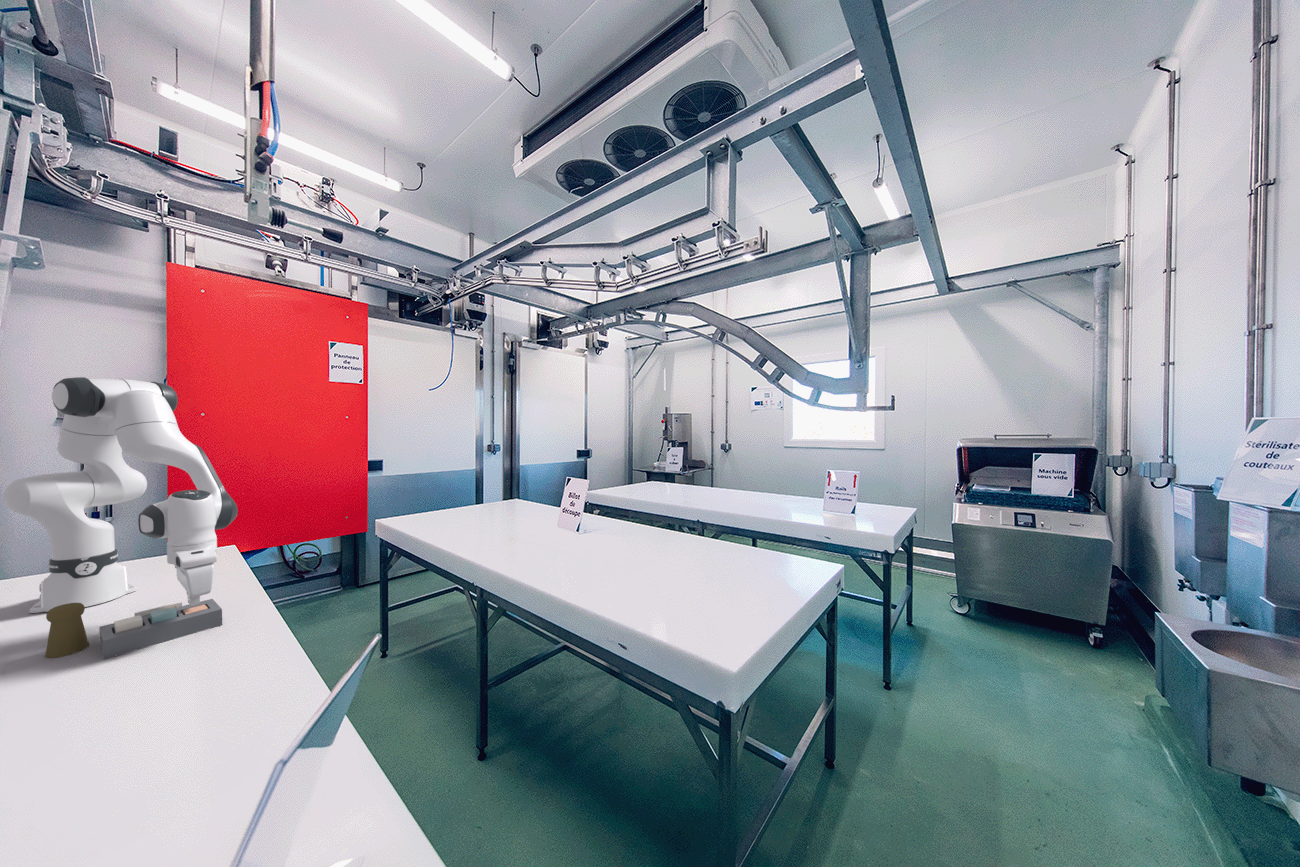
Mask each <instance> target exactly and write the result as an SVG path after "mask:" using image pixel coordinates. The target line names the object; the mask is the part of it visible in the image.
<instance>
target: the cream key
mask: <svg viewBox="0 0 1300 867" xmlns="http://www.w3.org/2000/svg"><path fill="white" fill-rule="evenodd" d="M113 623H114V633H118V632H122V631H126V630H129V629H133V628H137V627H141V626H143V620H142V617H141V615H138V616H135V615H134V616H130V617H127V618H123V619H122V618H121V619H119V620H115V621H113Z"/></svg>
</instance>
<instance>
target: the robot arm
mask: <svg viewBox="0 0 1300 867" xmlns="http://www.w3.org/2000/svg"><path fill="white" fill-rule="evenodd" d="M51 399H52V403H53V404H52V405H53V407H55V409H56V410H58V411H59V412H60V413H62V414H64V416H63V420H62V424H61V428H60V432H59V438H58V443H57V448H56V449H57V452H58V454H59V455H60V457H62V458H64V459H66V460H68V461H70V462H74V463H77V464H81V465H84V467H83V469H82V470H78V471H70V472H69V471H68V472H56V473H55V472H54V473H45V474H43V473H42V474H38V475H34V476H33V475H32V476H28V477H22V478H18V479H15V480H13V481H12V482H10V483H9V484H8V485H7V486H6V487H5V488H4V490H3V492H2V502H3V503H4V505H5V507H7V508H8V509H9V510H10V511H12V512H14V513H17V514H21V515H23V516H26V517H29V518H31V519H33V520H35V521H37V522H38V523H40V524H41V526H43V528H44V529H45V530H46V532H47V534H48V538H49V542H50V550H51V559H49V561H48V562H49V563H48V570H49V573H50V574H49V575H48V576H47V577H45V578H44V579H43V580H42V581H41V582H40V584H39V587H38V588H39V589H38V590H39V592H40V595H39V601H38V602H36V603H35V604H34V605H32V607H31V608H29V611H28V613H29V614H39V613H48V611H49V610H50V609H52V608H54V607H56V606H60V605H64V604H68V603H82V604H83V605H84V607H85V608H87V607H92V606H95V605H100V604H102V603H106V602H109V601H114V600H116V599H118V598H120V597H123V596H124V595H128V594H130V593H133V592H137V590H138V588H137V586H135V585H132V584H129V583H128V578H127V577H128V576H127V568H126V566H124V564H120V563H118V560H119V559H118V557H119V553H118V549H116V543H115V542H116V540H115V527H114V525H112V523H110V522H108V521H106V520H102V519H99V518H92V517H89V516H87V515H86V513H85V509H87V508H93V507H102V506H108V505H117V504H121V503H125V502H128V501H129V502H130V501H132V500H135V499H138V498H141V497H142V496H143V494H144V493H145V492H146V490H147V488H148V481H147V478H146V476H145V475H144V474H143V473H142V472H140V471H139V470H137V469H135V468H132V467H131V466H129V464H128V463H126V461H125V459H124V457H123V452H124V453H126V454H127V455H129V456H131V457H132V458H134V459H138V460H140V461H145V462H149V463H154V464H155V463H156V464H161V465H166V466H170V467H171V466H172V467H175V468H178V469H180V470H183V471H185V472H186V474H188V475H189V477H190V479H191V481H192V483H193V484H194V485H195V488H196V489H185V490H179V491H175V492H173V493H171V494H170V495H168V497H167V499H165V500H163V501H160V502H159V501H158V502H156V503H153V504H149V505H147V506H146V507H145V508H144V509H143V510H142V511H140V513H139V514H138V530H139V532H140V533H141V534H142V535H144V536H146V537H147V538H151V539H165V538H167V543H166V562H167V564H169V565H174V568H175V569H176V580H177V581H178V582H179V583H180V585H181V586H182V587H183V588H184V590H185V591H186V596H187V603H188V605H189V604H190V605H191V606H193V605H197V604H199V603H200V602H201V596H204V595H208V594H210V593H211V592H212V590H213V585H214V574H215V564H214V563H217V562H218V537H217V534H216V531H217V530H223V529H225V528H227V527H229V525H231V524H232V523H233V522H234V520H235V519H236V518H237V516H238V512H239V509H238V508H239V507H238V505H237V503H236V501H235V500H234V499H233V497H231V495H230V494H229V493H228V492H227V490H226V489H225V486H224V485H223V483H222V481H221V479H220V478H219V476H218V474H217V472H216V470H215V468H214V466H213V465H212V463H211V461H210V459H209V458H208V456H207V454H206V452H205V451H204V450H203V448H202V447H200V446H199V445H197V444H195V443H192V442H191V441H190V440H188V439H187V438H186V436H184V434H182V432H181V431H180V428H179V425H178V422H177V419H176V416H175V414H174V411H175V410H176V409H177V408H178V404H179V396H178V394H177V392H176V391H175V389H174V388H173V387H172V386H171V385H168V384H165V383H162V382H156V381H150V382H149V381H143V380H137V379H136V380H135V379H129V378H128V379H127V378H87V377H85V376H83V377H82V376H80V377H68V378H67V377H66V378H63V379H61V380H59V381H58V382H57V383H55V385H54V386H53V389H52V392H51Z"/></svg>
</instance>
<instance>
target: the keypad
mask: <svg viewBox="0 0 1300 867" xmlns="http://www.w3.org/2000/svg"><path fill="white" fill-rule="evenodd" d="M204 604H205V605H206V606H207V608H208V609H206V610H202V611H198V612H194V613H191V614H187V615H183V610H185V609H189V608H193V607H197V606H201V605H204ZM171 607H174V608H175V609H176V611H177V617H175V618H171V619H168V620H164V621H160V622H156V623H152V624H150V612H154V611H158V610H162V609H167V608H171ZM138 615H141V617H142V620H143V626H141V627H137V628H133V629H129V630H126V631H122V632H118V633H114V622H113V623H109V624H106V625H105V624H104V625H101V626H99V628H98V629H99V630H98V631H99V646H100V650H101V654H102V659H103V660H106V659H109V658H113V657H116V656H120V655H124V654H126V653H130V652H134V651H138V650H140V649H144V648H147V647H151V646H155V645H158V644H162V643H164V642H169V641H172V640H175V639H178V638H182V637H185V636H189V635H193V634H196V633H199V632H202V631H206V630H210V629H214V628H216V627H217V628H218V627H221V626H223V609H222V607H221V606H220V605H219V604H218V603H217V602H216V601H215V599H213V598H209V599H205V600H202V601H201V600H200V603H199V604H197V605H193V606H191V605H190V604H189V603H188V604H185V605H183V602H182V601H178V602H175V603H174V602H173V603H170V604H167V605H162V606H157V607H154V608H150V609H149V608H148V609H145V610H141V611H137V612H134V616H138Z"/></svg>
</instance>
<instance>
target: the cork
mask: <svg viewBox="0 0 1300 867" xmlns="http://www.w3.org/2000/svg"><path fill="white" fill-rule="evenodd" d="M85 610H86V607H84V605H83V604H82V603H68V604H64V605H60V606H56V607H54V608H52V609H50V610H49V611H48V612H46V618H45V619H46V621H47V622H49V623H50V627H49V632H48V638H47V642H46V648H45V653H44V654H45V655H44V658H45V659H57V658H61V657H66V656H69V655H72V654H73V655H74V654H77V653H78V652H81V651H84V650H86V649H87V648H88V647H90V642H89V640H88V636H87V632H86V628H85V625H84V621H83V619H82V615H83V614H84V613H85Z"/></svg>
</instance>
